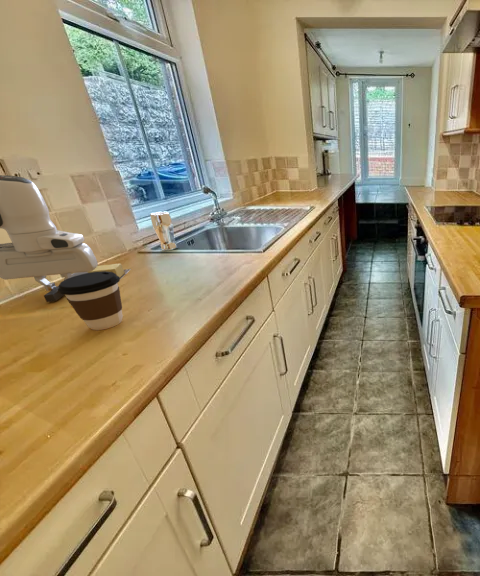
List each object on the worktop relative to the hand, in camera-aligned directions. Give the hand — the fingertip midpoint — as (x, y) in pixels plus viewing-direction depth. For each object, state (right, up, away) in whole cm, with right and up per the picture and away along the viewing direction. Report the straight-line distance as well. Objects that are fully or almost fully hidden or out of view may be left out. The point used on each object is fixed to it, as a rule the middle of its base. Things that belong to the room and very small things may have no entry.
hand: (59, 289), depth 89 cm
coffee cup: (+22, -9, -11) cm, 26 cm away
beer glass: (-1, +17, +48) cm, 51 cm away
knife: (-2, +1, +5) cm, 6 cm away
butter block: (+2, +4, +13) cm, 14 cm away
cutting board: (-1, +2, +13) cm, 13 cm away
